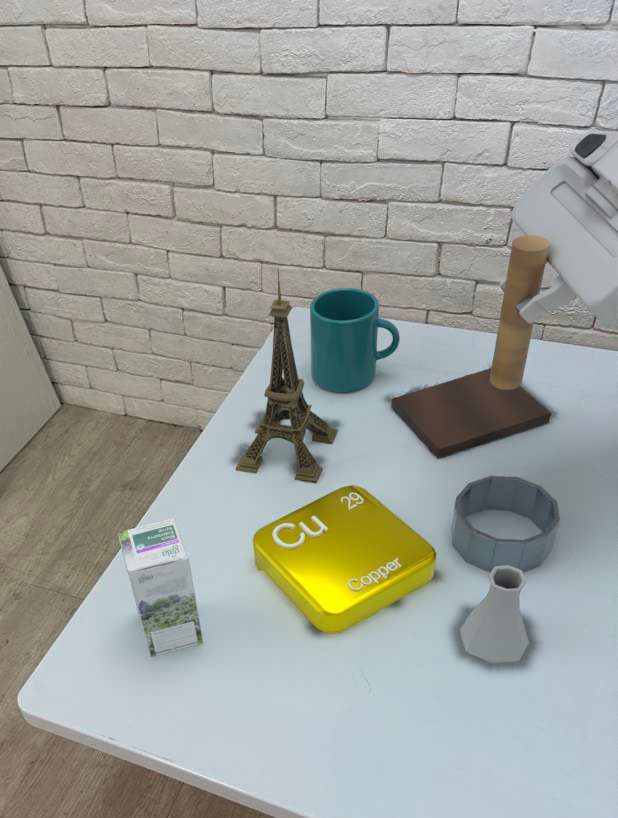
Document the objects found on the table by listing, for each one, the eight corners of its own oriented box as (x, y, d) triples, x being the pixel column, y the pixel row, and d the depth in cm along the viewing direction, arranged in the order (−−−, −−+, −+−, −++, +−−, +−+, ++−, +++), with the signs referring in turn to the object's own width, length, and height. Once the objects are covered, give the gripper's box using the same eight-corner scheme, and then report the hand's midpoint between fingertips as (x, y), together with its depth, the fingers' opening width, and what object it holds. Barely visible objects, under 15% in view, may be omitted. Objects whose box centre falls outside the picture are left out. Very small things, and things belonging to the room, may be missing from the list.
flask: (528, 681, 76) (549, 615, 69) (450, 667, 78) (461, 600, 71) (532, 623, 80) (551, 555, 73) (458, 610, 83) (469, 543, 75)
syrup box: (192, 610, 86) (173, 513, 76) (206, 652, 82) (188, 555, 72) (141, 624, 86) (115, 528, 75) (152, 667, 82) (126, 571, 71)
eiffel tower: (235, 470, 102) (215, 289, 84) (261, 420, 109) (247, 243, 91) (316, 483, 99) (312, 297, 81) (337, 431, 105) (338, 249, 88)
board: (495, 375, 110) (496, 365, 109) (549, 422, 102) (551, 412, 101) (390, 407, 108) (391, 398, 107) (438, 458, 99) (439, 449, 98)
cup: (397, 395, 109) (402, 321, 102) (309, 394, 112) (307, 322, 104) (397, 358, 116) (402, 286, 108) (313, 358, 118) (312, 288, 110)
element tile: (327, 648, 81) (327, 618, 78) (248, 560, 91) (244, 531, 87) (441, 583, 85) (446, 552, 82) (354, 506, 95) (355, 475, 92)
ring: (511, 505, 92) (520, 465, 88) (567, 563, 85) (580, 523, 81) (433, 532, 91) (437, 493, 86) (483, 594, 84) (492, 555, 79)
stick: (509, 369, 85) (535, 232, 74) (528, 384, 83) (557, 245, 72) (483, 377, 84) (505, 240, 74) (501, 393, 82) (526, 254, 72)
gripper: (722, 261, 64) (575, 380, 71) (610, 167, 79) (497, 274, 86) (684, 215, 61) (534, 344, 68) (575, 126, 76) (461, 240, 83)
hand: (513, 304), depth 77 cm, fingers closed on stick, 3 cm apart
